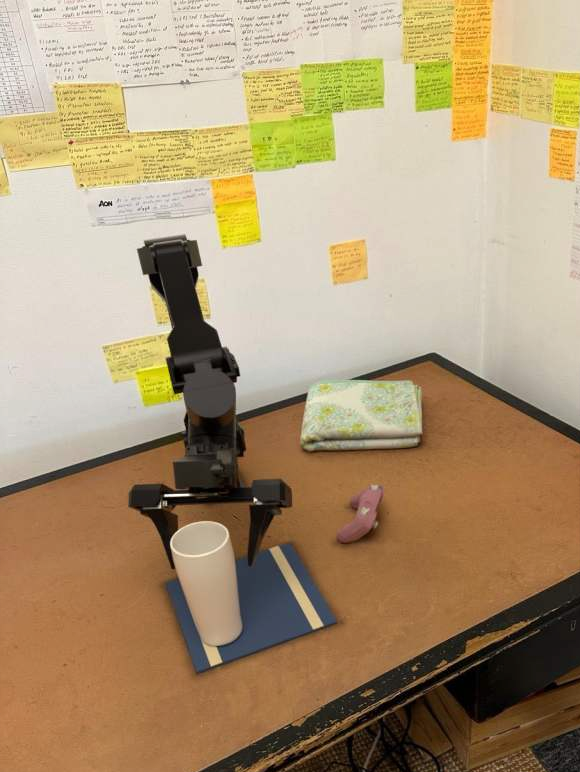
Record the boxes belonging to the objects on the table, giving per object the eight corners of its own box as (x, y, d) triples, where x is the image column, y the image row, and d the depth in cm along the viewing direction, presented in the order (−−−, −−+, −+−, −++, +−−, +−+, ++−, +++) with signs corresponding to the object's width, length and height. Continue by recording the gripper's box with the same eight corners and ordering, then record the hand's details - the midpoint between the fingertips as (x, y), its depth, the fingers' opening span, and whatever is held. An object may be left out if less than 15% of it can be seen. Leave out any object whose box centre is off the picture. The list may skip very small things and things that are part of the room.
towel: (425, 449, 126) (424, 423, 123) (300, 454, 127) (296, 428, 124) (422, 398, 141) (421, 374, 138) (310, 403, 141) (307, 379, 138)
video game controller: (361, 555, 107) (380, 522, 103) (332, 541, 106) (350, 507, 102) (375, 514, 115) (394, 482, 110) (349, 501, 114) (366, 468, 110)
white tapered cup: (224, 660, 89) (201, 564, 80) (182, 640, 92) (156, 545, 83) (260, 625, 94) (242, 530, 85) (219, 607, 97) (197, 513, 88)
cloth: (166, 584, 102) (165, 581, 101) (290, 544, 107) (290, 541, 107) (196, 674, 88) (195, 671, 88) (337, 623, 94) (337, 620, 94)
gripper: (110, 427, 84) (108, 565, 82) (275, 419, 83) (277, 559, 81) (146, 449, 95) (144, 572, 93) (291, 443, 94) (294, 566, 92)
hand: (212, 567), depth 89 cm, fingers open, 9 cm apart
